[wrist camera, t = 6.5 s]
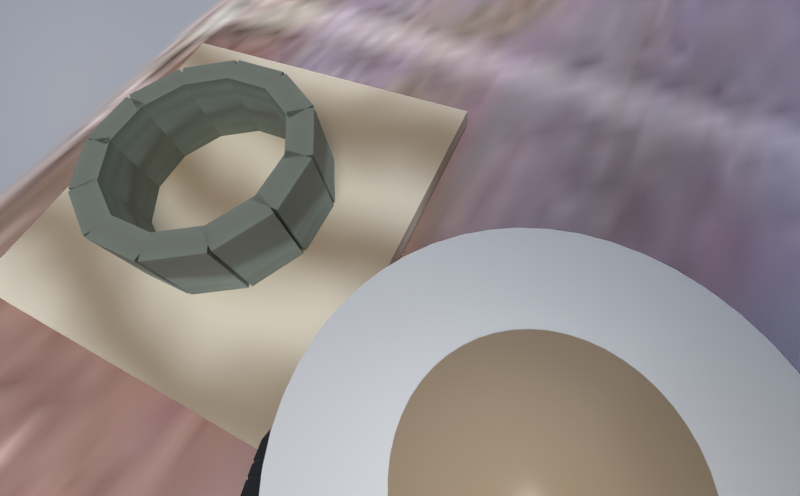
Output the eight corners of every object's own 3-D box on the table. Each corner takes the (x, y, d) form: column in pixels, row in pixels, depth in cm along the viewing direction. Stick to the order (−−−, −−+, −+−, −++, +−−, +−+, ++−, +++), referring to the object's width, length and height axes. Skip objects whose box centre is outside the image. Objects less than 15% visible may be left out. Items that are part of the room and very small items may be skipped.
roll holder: (210, 56, 27) (169, -13, 23) (466, 125, 22) (470, 52, 18) (-3, 291, 20) (-114, 251, 16) (295, 465, 15) (241, 470, 11)
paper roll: (430, 351, 17) (402, 173, 6) (578, 417, 15) (906, 332, 4) (364, 505, 14) (130, 662, 4) (530, 602, 13) (951, 1371, 2)
